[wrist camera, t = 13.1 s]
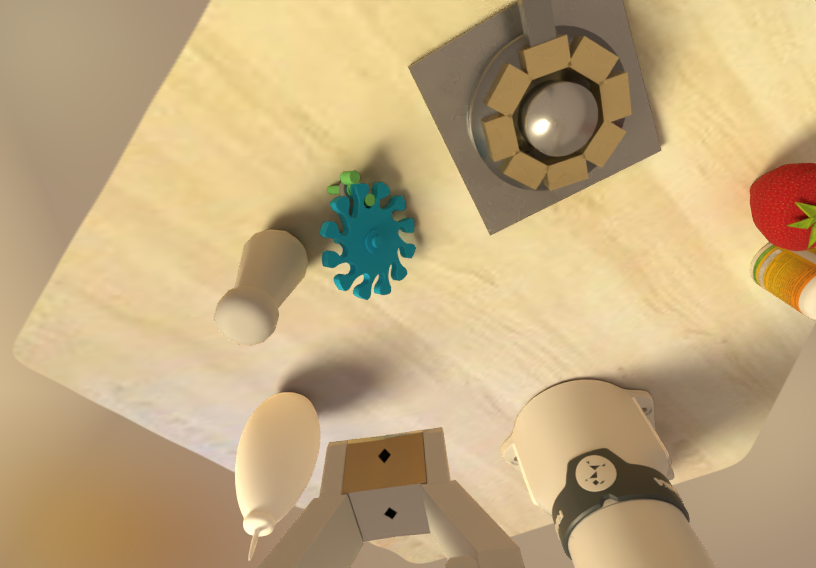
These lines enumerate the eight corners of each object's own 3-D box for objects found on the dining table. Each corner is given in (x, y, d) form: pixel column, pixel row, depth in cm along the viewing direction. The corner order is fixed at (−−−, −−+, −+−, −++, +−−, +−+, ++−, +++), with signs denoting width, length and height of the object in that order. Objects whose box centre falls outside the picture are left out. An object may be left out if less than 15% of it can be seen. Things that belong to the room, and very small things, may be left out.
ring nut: (595, -127, 28) (646, -169, 22) (625, 157, 36) (667, 178, 31) (435, -61, 29) (445, -84, 24) (500, 198, 38) (519, 226, 32)
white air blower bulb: (324, 374, 50) (294, 529, 34) (328, 425, 54) (303, 587, 38) (252, 374, 50) (188, 531, 34) (262, 426, 53) (208, 589, 37)
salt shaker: (266, 284, 44) (224, 368, 33) (237, 232, 42) (181, 305, 30) (321, 266, 44) (298, 346, 32) (296, 212, 41) (260, 279, 30)
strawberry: (724, 236, 44) (809, 286, 35) (713, 166, 40) (804, 201, 32) (788, 210, 43) (892, 254, 34) (783, 135, 39) (896, 163, 30)
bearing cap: (656, 148, 39) (697, 165, 34) (488, 232, 43) (502, 259, 37) (603, -52, 32) (645, -69, 27) (408, 66, 36) (411, 71, 30)
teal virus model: (429, 275, 43) (347, 320, 36) (387, 269, 47) (307, 308, 41) (406, 156, 39) (311, 184, 33) (363, 161, 43) (271, 186, 37)
